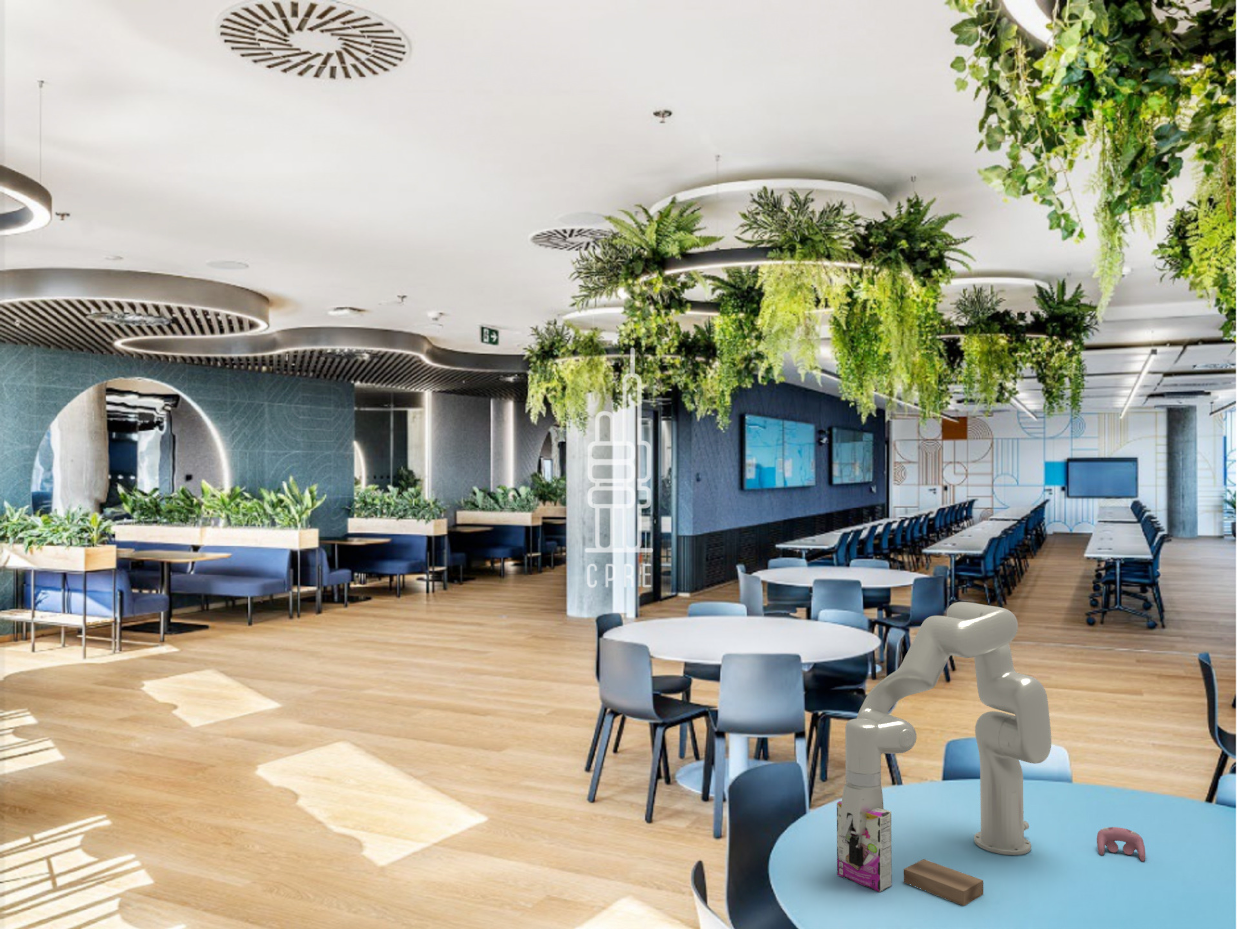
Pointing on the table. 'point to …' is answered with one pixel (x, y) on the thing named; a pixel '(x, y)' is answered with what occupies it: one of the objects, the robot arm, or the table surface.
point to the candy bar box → (868, 851)
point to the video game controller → (1120, 834)
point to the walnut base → (944, 882)
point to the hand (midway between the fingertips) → (863, 859)
